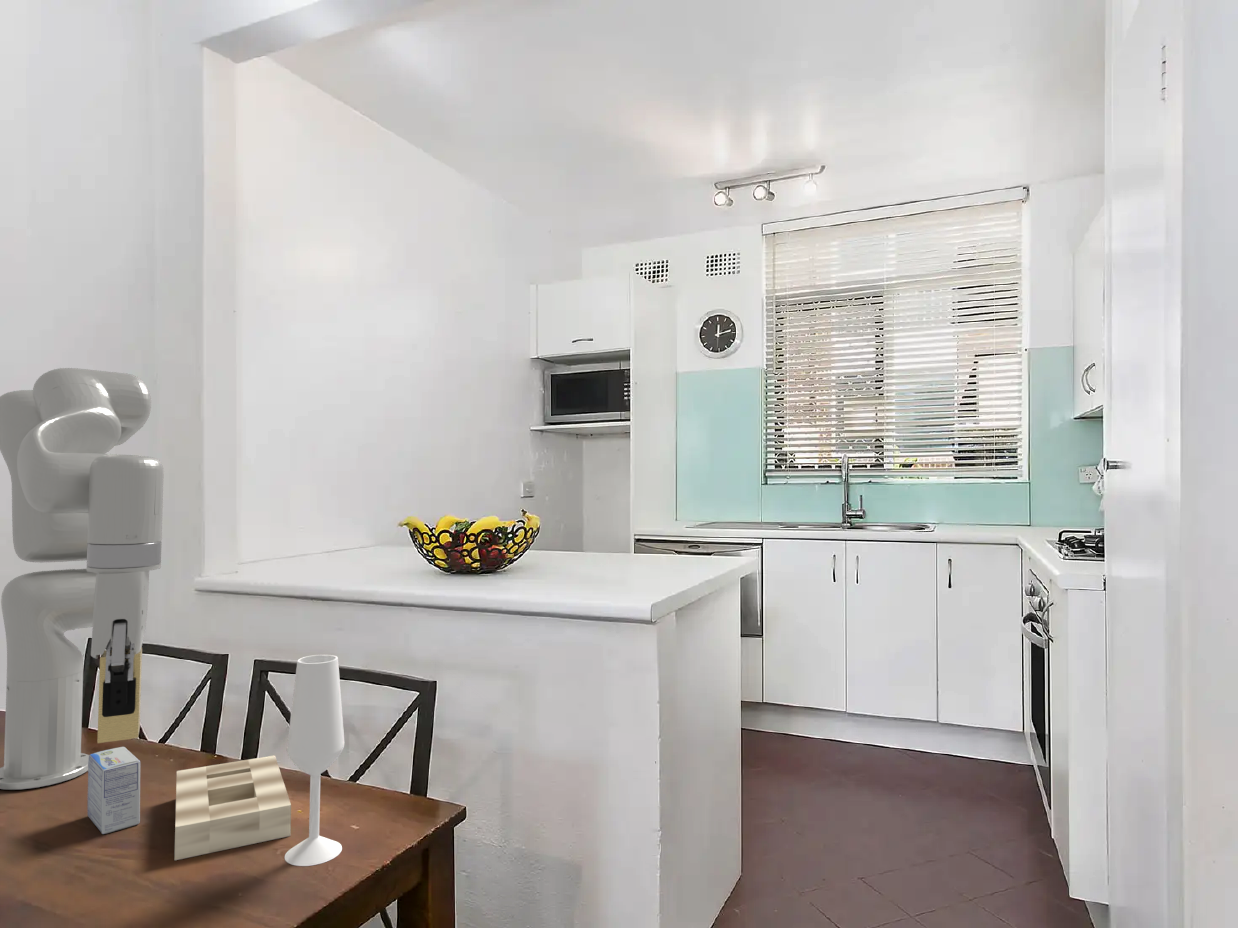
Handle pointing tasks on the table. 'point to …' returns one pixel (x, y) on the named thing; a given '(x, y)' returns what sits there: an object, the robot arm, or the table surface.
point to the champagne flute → (315, 745)
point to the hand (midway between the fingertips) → (120, 707)
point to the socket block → (230, 806)
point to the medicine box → (113, 789)
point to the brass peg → (121, 724)
